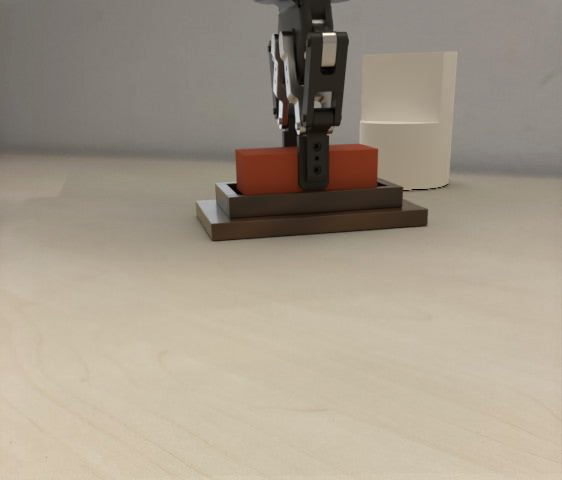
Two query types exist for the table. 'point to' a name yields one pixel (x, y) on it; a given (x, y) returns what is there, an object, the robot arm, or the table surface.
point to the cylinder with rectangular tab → (409, 115)
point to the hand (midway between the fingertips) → (305, 182)
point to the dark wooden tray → (306, 211)
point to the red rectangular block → (284, 168)
